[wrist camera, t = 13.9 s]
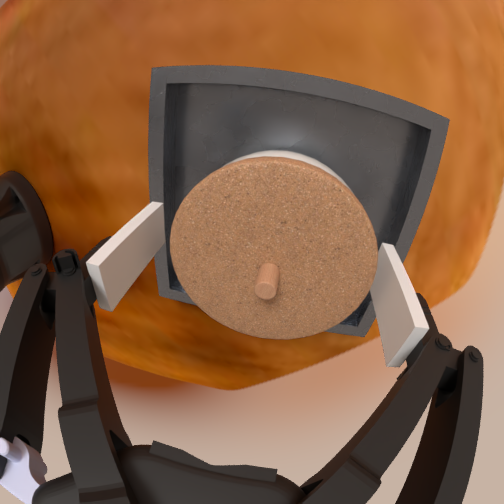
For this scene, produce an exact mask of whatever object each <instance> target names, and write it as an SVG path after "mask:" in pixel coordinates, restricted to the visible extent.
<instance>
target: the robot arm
mask: <svg viewBox="0 0 504 504" xmlns="http://www.w3.org/2000/svg"><path fill="white" fill-rule="evenodd" d="M164 243H165V230H164V209H163V203H159V202H151V203H150V204H149V205H148V206H146V207H145V208H144V209H143V210H142V211H141V212H139V213H138V214H137V215H136V216H135V217H134V218H132V219H131V220H130V221H129V222H128V223H127V224H126V225H125V226H123V227H122V228H121V229H120V230H119V231H118V232H117V233H116V234H115V235H114V236H113V237H112V236H109V237H107V238H105V239H103V240H101V241H100V242H99V243H98V244H97V245H96V247H94V248H93V249H92V250H91V251H90V252H89V253H88V254H87V255H85V256H84V257H83V258H82V259H81V260H80V261H79V259H78V255H77V252H76V251H75V250H74V249H64V250H62V251H59V252H58V253H56V254H55V255H54V256H53V259H52V261H53V264H54V267H55V270H56V272H48V269H47V267H46V264H47V263H48V262H49V261H50V259H51V257H52V253H53V240H52V234H51V229H50V225H49V222H48V219H47V216H46V213H45V210H44V208H43V206H42V203H41V201H40V199H39V197H38V196H37V194H36V192H35V190H34V189H33V187H32V186H31V185H30V183H29V182H28V181H27V180H26V179H25V178H24V177H23V176H22V175H21V174H19V173H17V172H15V171H8V172H6V173H4V174H2V175H1V176H0V292H1V291H2V290H3V288H5V287H6V286H7V285H8V284H10V283H13V282H15V281H17V280H20V279H22V278H23V280H22V282H21V284H20V286H19V288H18V290H17V293H16V295H15V297H14V300H13V302H12V304H11V307H10V310H9V312H8V314H7V317H6V320H5V322H4V325H3V328H2V331H1V333H0V484H1V485H2V486H3V487H4V488H5V489H7V490H8V491H9V492H10V493H12V494H13V495H14V496H16V497H17V498H18V499H20V500H21V501H22V502H24V503H25V504H366V503H367V501H368V500H369V499H370V498H371V497H372V496H373V494H374V493H375V492H376V491H377V489H378V488H379V486H380V484H381V480H380V478H381V476H382V475H383V473H384V472H385V471H386V470H387V468H388V467H389V465H390V464H391V462H392V461H393V460H394V459H395V457H396V456H397V454H398V453H399V451H400V450H401V448H402V447H403V445H404V444H405V442H406V441H407V439H408V438H409V436H410V435H411V433H412V431H413V430H414V428H415V426H416V425H417V423H418V421H419V419H420V418H421V416H422V414H423V412H424V411H425V409H426V407H427V405H428V403H429V401H430V399H431V397H432V400H431V404H430V409H429V412H428V416H427V420H426V424H425V427H424V431H423V435H422V437H421V441H420V444H419V447H418V450H417V453H416V456H415V459H414V461H413V464H412V466H411V469H410V472H409V474H408V476H407V479H406V482H405V484H404V486H403V488H402V491H401V493H400V495H399V497H398V499H397V501H396V503H395V504H462V501H463V498H464V495H465V492H466V489H467V485H468V482H469V478H470V474H471V470H472V466H473V462H474V457H475V452H476V447H477V441H478V435H479V428H480V420H481V410H482V397H483V357H482V355H481V353H480V351H479V350H478V349H477V348H475V347H473V346H467V347H466V348H465V349H464V351H463V352H461V351H459V350H456V349H453V348H452V344H451V342H450V340H449V339H448V338H447V337H446V336H444V335H443V334H439V332H438V329H437V327H436V324H435V322H434V319H433V316H432V315H431V312H430V309H429V307H428V304H427V302H426V300H425V299H424V298H423V296H422V295H421V294H420V293H415V291H414V288H413V286H412V284H411V282H410V279H409V277H408V275H407V273H406V271H405V268H404V266H403V264H402V262H401V260H400V258H399V256H398V254H397V252H396V250H395V248H394V246H393V245H391V244H386V243H382V244H381V247H380V249H379V252H378V264H377V271H376V274H375V278H374V282H373V284H372V286H371V288H370V293H371V297H372V301H373V305H374V309H375V313H376V317H377V322H378V326H379V331H380V336H381V341H382V346H383V351H384V356H385V362H386V366H387V367H400V366H401V365H402V364H403V363H404V361H405V360H406V362H407V367H406V369H405V370H404V371H403V372H402V373H401V374H400V375H399V377H398V378H397V382H396V383H395V384H394V386H393V387H392V389H391V390H390V392H389V393H388V394H387V396H386V397H385V398H384V400H383V401H382V402H381V404H380V405H379V406H378V407H377V409H376V410H375V411H374V413H373V414H372V415H371V416H370V418H369V419H368V420H367V421H366V422H365V424H364V425H363V426H362V427H361V428H360V429H359V431H358V432H357V433H356V434H355V435H354V436H353V437H352V439H351V440H350V441H349V442H348V443H347V444H346V445H345V446H344V447H343V448H342V449H341V450H340V451H339V452H338V454H336V456H335V457H334V458H333V459H332V460H331V461H330V462H328V463H327V464H326V465H325V467H323V468H322V469H321V470H320V471H319V472H318V473H317V474H315V475H314V476H312V477H311V478H310V479H308V480H307V481H306V482H305V483H304V484H302V485H301V486H300V487H299V486H297V485H296V484H295V483H294V482H292V481H290V480H289V479H287V478H285V477H283V476H281V475H278V474H277V469H272V468H264V467H257V466H250V465H228V466H226V465H225V466H215V465H210V464H208V463H206V462H204V461H202V460H200V459H198V458H196V457H194V456H193V455H191V454H189V453H187V452H185V451H183V450H181V449H178V448H175V447H172V446H169V445H165V444H162V443H160V442H157V441H153V443H152V445H134V446H132V444H131V441H130V439H129V437H128V435H127V434H126V432H125V430H124V428H123V425H122V422H121V419H120V416H119V413H118V410H117V407H116V404H115V400H114V397H113V394H112V390H111V387H110V383H109V379H108V375H107V371H106V367H105V362H104V358H103V353H102V349H101V344H100V339H99V333H98V327H97V321H96V315H95V309H94V306H93V303H94V302H95V301H96V299H97V301H98V304H99V307H100V308H102V309H105V310H108V311H111V312H112V311H113V310H114V308H115V307H116V305H117V304H118V303H119V301H120V300H121V299H122V297H123V296H124V295H125V293H126V292H127V290H128V289H129V288H130V286H131V285H132V284H133V282H134V281H135V280H136V278H137V277H138V276H139V275H140V273H141V272H142V271H143V269H144V268H145V267H146V266H147V264H148V263H149V262H150V260H151V259H152V258H153V257H154V255H155V254H156V253H157V252H158V250H159V249H160V248H161V247H162V245H163V244H164ZM55 337H56V351H57V364H58V373H59V383H60V390H61V396H62V407H61V408H59V410H58V418H59V423H60V428H61V433H62V437H63V441H64V445H65V450H66V453H67V457H68V461H69V464H70V467H71V471H72V472H71V473H69V474H66V475H64V476H61V477H58V478H56V479H53V480H50V481H48V482H46V480H45V477H44V475H45V474H46V473H47V466H46V464H45V463H44V462H43V459H42V457H41V455H40V454H41V448H42V442H43V431H44V411H45V400H46V391H47V383H48V375H49V368H50V363H51V357H52V351H53V346H54V341H55Z"/></svg>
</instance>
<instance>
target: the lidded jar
mask: <svg viewBox="0 0 504 504" xmlns="http://www.w3.org/2000/svg"><path fill="white" fill-rule="evenodd" d="M170 253H171V258H172V263H173V267H174V269H175V272H176V275H177V277H178V280H179V281H180V283H181V285H182V287H183V288H184V290H185V291H186V293H187V294H188V295H189V297H190V298H191V299H192V301H193V302H194V303H195V304H196V305H197V306H198V307H199V308H200V309H201V310H203V311H204V312H205V313H206V314H208V315H209V316H210V317H211V318H213V319H214V320H216V321H218V322H219V323H221V324H223V325H225V326H227V327H229V328H231V329H233V330H235V331H238V332H241V333H244V334H247V335H251V336H255V337H260V338H267V339H295V338H302V337H307V336H311V335H315V334H318V333H320V332H323V331H325V330H328V329H329V328H331V327H333V326H335V325H337V324H339V323H340V322H342V321H343V320H344V319H346V318H347V317H348V316H349V315H350V314H352V313H353V312H354V311H355V310H356V309H357V308H358V307H359V305H360V304H361V303H362V301H363V300H364V299H365V297H366V296H367V294H368V292H369V290H370V288H371V286H372V284H373V282H374V278H375V274H376V271H377V264H378V247H377V239H376V236H375V232H374V229H373V226H372V223H371V221H370V219H369V217H368V215H367V213H366V211H365V210H364V208H363V206H362V204H361V203H360V202H359V200H358V199H357V198H356V196H355V195H354V193H353V192H352V190H351V189H350V188H349V186H348V185H347V184H346V183H345V182H344V180H343V179H342V178H341V177H340V176H338V175H337V174H336V173H335V172H334V171H333V170H331V169H330V168H329V167H328V166H326V165H324V164H323V163H321V162H319V161H318V160H316V159H314V158H311V157H309V156H306V155H303V154H300V153H296V152H291V151H283V150H268V151H260V152H255V153H252V154H249V155H246V156H242V157H240V158H237V159H235V160H233V161H231V162H230V163H228V164H226V165H224V166H223V167H221V168H220V169H218V170H216V171H214V172H212V173H211V174H209V175H208V176H207V177H206V178H204V179H203V180H202V181H201V182H199V183H198V184H197V185H196V186H195V187H194V188H193V189H192V190H191V191H190V192H189V193H188V195H187V196H186V197H185V198H184V199H183V201H182V203H181V205H180V206H179V208H178V210H177V212H176V214H175V217H174V220H173V223H172V227H171V234H170Z"/></svg>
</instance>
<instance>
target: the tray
mask: <svg viewBox="0 0 504 504" xmlns="http://www.w3.org/2000/svg"><path fill="white" fill-rule="evenodd" d="M449 121H450V119H448V118H445V117H443V116H441V115H439V114H437V113H434V112H432V111H430V110H427V109H425V108H423V107H420V106H418V105H415V104H412V103H410V102H407V101H404V100H402V99H399V98H396V97H393V96H390V95H387V94H384V93H381V92H378V91H375V90H371V89H368V88H364V87H361V86H357V85H353V84H350V83H346V82H341V81H337V80H333V79H328V78H323V77H318V76H313V75H308V74H302V73H296V72H289V71H282V70H274V69H265V68H254V67H241V66H215V65H195V66H170V67H156V68H152V73H151V86H150V103H149V136H148V159H149V193H150V203H151V202H159V203H163V209H164V230H165V243H164V244H163V245H162V247H161V248H160V249H159V250H158V252H157V253H156V254H155V255H154V257H155V266H156V275H157V282H158V290H159V296H162V297H166V298H170V299H174V300H177V301H181V302H185V303H189V304H193V305H196V304H195V303H194V302H193V301H192V299H191V298H190V297H189V295H188V294H187V293H186V291H185V290H184V288H183V287H182V285H181V283H180V281H179V280H178V277H177V275H176V272H175V269H174V267H173V263H172V258H171V253H170V234H171V227H172V223H173V220H174V217H175V214H176V212H177V210H178V208H179V206H180V205H181V203H182V201H183V199H184V198H185V197H186V196H187V195H188V193H189V192H190V191H191V190H192V189H193V188H194V187H195V186H196V185H197V184H198V183H199V182H201V181H202V180H203V179H204V178H206V177H207V176H208V175H209V174H211V173H212V172H214V171H216V170H218V169H220V168H221V167H223V166H224V165H226V164H228V163H230V162H231V161H233V160H235V159H237V158H240V157H242V156H246V155H249V154H252V153H255V152H260V151H268V150H283V151H291V152H296V153H300V154H303V155H306V156H309V157H311V158H314V159H316V160H318V161H319V162H321V163H323V164H324V165H326V166H328V167H329V168H330V169H331V170H333V171H334V172H335V173H336V174H337V175H338V176H340V177H341V178H342V179H343V180H344V182H345V183H346V184H347V185H348V186H349V188H350V189H351V190H352V192H353V193H354V195H355V196H356V198H357V199H358V200H359V202H360V203H361V204H362V206H363V208H364V210H365V211H366V213H367V215H368V217H369V219H370V221H371V223H372V226H373V229H374V232H375V236H376V239H377V247H378V252H379V249H380V247H381V244H382V243H386V244H391V245H393V246H394V248H395V250H396V252H397V254H398V256H399V258H400V260H401V262H402V264H403V262H404V260H405V258H406V255H407V253H408V251H409V248H410V246H411V244H412V241H413V239H414V236H415V234H416V231H417V229H418V226H419V224H420V221H421V218H422V216H423V213H424V210H425V207H426V204H427V202H428V199H429V196H430V193H431V190H432V186H433V183H434V180H435V177H436V173H437V170H438V166H439V163H440V159H441V155H442V151H443V148H444V143H445V139H446V135H447V130H448V126H449ZM375 318H376V313H375V309H374V305H373V301H372V297H371V293H370V290H369V292H368V294H367V296H366V297H365V299H364V300H363V301H362V303H361V304H360V305H359V307H358V308H357V309H356V310H355V311H354V312H353V313H352V314H350V315H349V316H348V317H347V318H346V319H344V320H343V321H342V322H340V323H339V324H337V325H335V326H333V327H331V328H329V329H328V330H325V331H326V332H332V333H339V334H346V335H353V336H360V337H365V335H366V334H367V332H368V330H369V329H370V327H371V325H372V323H373V322H374V320H375Z"/></svg>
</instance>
